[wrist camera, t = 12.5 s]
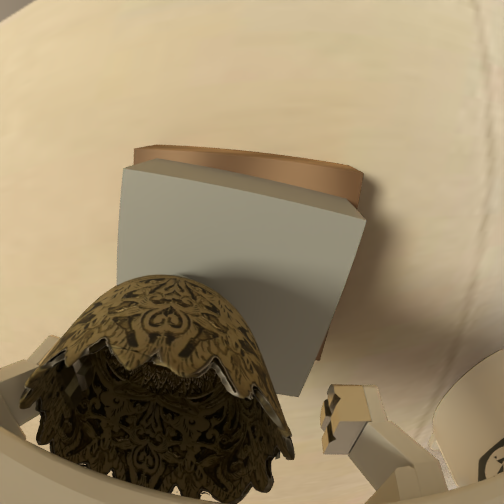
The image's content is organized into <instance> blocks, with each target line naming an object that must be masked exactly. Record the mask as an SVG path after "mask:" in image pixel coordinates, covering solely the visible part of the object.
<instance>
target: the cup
mask: <svg viewBox="0 0 504 504" xmlns="http://www.w3.org/2000/svg"><path fill="white" fill-rule="evenodd" d="M86 355H89V356H88V360H89V361H90V362H91V363H92V365H93V369H94V376H93V380H92V383H91V385H90V387H89V388H88V389H86V390H84V391H82V394H83V398H82V400H81V401H80V403H79V405H78V406H77V408H76V409H72V408H69V407H68V406H67V404H66V403H65V401H64V399H63V397H62V395H61V393H60V390H59V387H58V384H57V379H56V370H57V368H58V367H59V365H60V364H61V362H62V361H63V360H64V359H65V364H66V366H67V367H70V366H71V365H72V364H74V363H75V362H76V361H77V360H78V359H79V358H81V357H83V356H86ZM25 388H26V389H25V390H24V392H23V393H22V395H21V397H20V401H19V408H20V409H27V408H30V407H31V406H32V405H33V403H34V402H36V407H35V410H36V411H38V412H39V413H40V416H41V419H40V426H39V428H38V432H37V435H36V441H37V443H38V445H47V444H48V443H50V452H51V453H53V454H55V455H57V456H59V457H62V458H64V459H66V460H68V461H71V462H73V463H76V464H78V465H80V466H83V467H86V468H88V469H91V470H93V471H96V472H99V473H102V474H104V475H107V474H108V473H109V472H110V471H112V472H113V473H112V476H113V478H116V479H119V480H122V481H126V482H129V483H132V484H136V485H139V486H143V487H146V488H150V489H154V490H158V491H162V492H166V493H170V494H171V493H172V491H173V490H174V487H175V486H177V487H178V489H179V491H180V494H181V496H184V497H189V498H195V499H200V497H201V495H200V494H205V492H203V493H201V492H202V491H206V492H209V493H210V494H211V495H212V497H213V498H214V499H215V500H217V501H219V502H221V503H226V504H237V503H239V502H240V501H241V500H242V499H243V498H244V497H245V496H246V495H247V493H248V492H249V491H250V489H251V488H252V487H254V489H256V490H257V491H259V492H263V493H268V492H269V491H270V490H271V488H272V486H273V483H274V479H273V476H272V472H271V461H272V460H273V458H274V457H276V458H275V459H278V458H280V451H281V452H282V454H283V456H284V457H286V459H287V460H294V457H295V454H294V447H293V443H292V440H291V437H292V434H291V431H290V429H289V427H288V426H287V423H286V421H285V418H284V415H283V412H282V409H281V406H280V404H279V401H278V398H277V395H276V392H275V389H274V387H273V384H272V381H271V378H270V375H269V373H268V370H267V367H266V365H265V362H264V359H263V357H262V354H261V352H260V349H259V347H258V344H257V342H256V340H255V338H254V336H253V334H252V332H251V330H250V328H249V326H248V325H247V323H246V322H245V320H244V319H243V317H242V316H241V314H240V313H239V312H238V310H237V309H236V308H235V307H234V306H233V305H232V304H231V303H230V302H229V301H228V300H226V299H225V298H224V297H223V296H222V295H220V294H219V293H218V292H216V291H215V290H213V289H212V288H210V287H208V286H206V285H204V284H202V283H199V282H197V281H196V280H194V279H192V278H189V277H186V276H182V275H147V276H142V277H137V278H134V279H131V280H128V281H125V282H123V283H121V284H119V285H117V286H115V287H113V288H112V289H110V290H109V291H107V292H106V293H104V294H103V295H102V296H100V297H99V298H98V299H97V300H96V301H95V302H94V303H93V304H91V305H90V306H89V307H88V308H87V309H86V310H85V311H84V312H83V313H82V315H81V316H80V317H79V318H78V319H77V320H76V321H75V322H74V323H73V325H72V326H71V327H70V328H69V329H68V330H67V332H66V333H65V334H64V335H63V336H62V338H61V339H60V340H59V341H58V342H57V344H56V345H55V346H54V347H53V349H52V350H51V351H50V352H49V354H48V355H47V356H46V358H45V359H44V360H43V361H42V363H41V364H40V365H39V367H38V368H37V369H36V370H35V371H34V372H33V373H32V374H31V376H30V377H29V378H28V380H27V381H26V383H25ZM290 436H291V437H290ZM84 464H86V465H84ZM206 494H208V493H206ZM210 494H209V495H210Z"/></svg>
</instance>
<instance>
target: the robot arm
mask: <svg viewBox="0 0 504 504" xmlns="http://www.w3.org/2000/svg"><path fill="white" fill-rule="evenodd" d="M60 339H61V338H60V337H57V336H54V335H51V336H48V337H47V338H46V339H45V340H44V342H43V343H42V344H41V345H40V346H39V347H38V348H37V349H36V350H35V352H34V353H33V354H32V355H31V356H30V357H29V358H28V359H27V360H24V359H23V360H21V361H18V362H15V363H13V364H10V365H7V366H5V367H2V368H0V504H226V503H219V502H212V501H206V500H200V499H195V498H189V497H184V496H180V495H175V494H170V493H166V492H162V491H158V490H154V489H150V488H146V487H143V486H139V485H136V484H132V483H129V482H126V481H122V480H119V479H116V478H113V477H110V476H107V475H104V474H102V473H99V472H96V471H93V470H91V469H88V468H86V467H83V466H80V465H78V464H76V463H73V462H71V461H68V460H66V459H64V458H62V457H59V456H57V455H55V454H53V453H51V452H48V451H46V450H44V449H42V448H40V447H38V446H36V445H34V444H32V443H30V442H28V441H26V436H25V434H24V432H23V431H22V429H21V428H20V426H21V425H23V424H24V423H26V422H28V421H29V420H31V419H33V418H34V417H36V416H38V415H39V414H40V413H39V412H38V411H36V410H35V407H36V402H34V403H33V405H32V406H31V407H30V408H27V409H20V408H19V401H20V397H21V395H22V393H23V392H24V390H25V389H26V388H25V383H26V381H27V380H28V378H29V377H30V376H31V374H32V373H33V372H34V371H35V370H36V369H37V368H38V367H39V365H40V364H41V363H42V361H43V360H44V359H45V358H46V356H47V355H48V354H49V352H50V351H51V350H52V349H53V347H54V346H55V345H56V344H57V342H58V341H59V340H60ZM88 356H89V355H86V356H83V357H81V358H79V359H78V360H77V361H76V362H75V363H74V364H72V365H71V366H70V367H67V366H66V364H65V359H64V360H63V361H62V362H61V364H60V365H59V367H58V368H57V370H56V379H57V384H58V387H59V390H60V393H61V395H62V397H63V399H64V401H65V403H66V404H67V406H68V407H69V408H72V409H76V408H77V406H78V405H79V403H80V401H81V400H82V398H83V394H82V391H84V390H86V389H88V388H89V387H90V385H91V383H92V380H93V376H94V369H93V365H92V363H91V362H90V361H89V360H88ZM327 394H328V399H327V400H325V401H324V402H323V405H322V408H321V414H320V425H321V428H322V430H323V431H324V434H323V436H322V446H323V454H342V455H347V454H349V455H348V456H349V457H350V459H351V460H352V461H353V463H354V464H355V465H356V466H357V468H358V469H359V470H360V471H361V473H362V474H363V475H364V476H365V478H366V479H367V480H368V481H369V482H370V484H371V485H372V486H373V487H374V489H375V490H376V492H375V493H374V494H373V495H372V496H371V497H370V498H369V500H368V501H367V502H366V503H365V504H504V349H502V350H500V351H498V352H496V353H494V354H492V355H490V356H489V357H487V358H486V359H484V360H483V361H481V362H480V363H478V364H477V365H476V366H474V367H473V368H472V369H471V370H470V371H468V372H467V373H466V374H465V375H464V376H463V377H462V378H461V379H459V380H458V381H457V382H456V383H455V385H454V386H453V387H452V388H451V389H450V390H449V391H448V392H447V394H446V395H445V396H444V398H443V399H442V400H441V402H440V403H439V405H438V407H437V409H436V411H435V413H434V417H433V434H432V436H431V438H430V440H429V442H428V445H429V447H430V449H431V450H434V451H436V450H440V451H441V453H442V455H443V458H444V460H445V462H446V464H447V466H448V469H449V471H450V473H451V475H452V477H453V480H454V482H455V484H456V486H457V487H459V488H456V489H452V490H449V491H448V488H447V485H446V482H445V478H444V475H443V472H442V469H441V466H440V463H439V460H437V459H436V458H435V457H434V456H433V455H431V454H430V453H429V452H428V451H427V450H425V449H424V448H423V447H422V446H421V445H420V444H418V443H417V442H416V441H415V440H414V439H412V438H411V437H410V436H409V435H408V434H407V433H405V432H404V431H403V430H402V429H401V428H399V427H398V426H397V425H396V424H395V423H394V422H392V421H388V420H387V417H386V413H385V410H384V407H383V403H382V400H381V397H380V394H379V391H378V388H377V386H376V385H344V384H331V385H330V387H329V389H328V392H327Z"/></svg>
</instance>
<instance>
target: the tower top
mask: <svg viewBox="0 0 504 504" xmlns="http://www.w3.org/2000/svg"><path fill="white" fill-rule="evenodd" d="M366 221H367V220H366V219H365V218H364V217H363V216H362V215H361V214H360V213H359V212H358V211H357V209H356V208H355V207H354V206H353V205H352V204H351V203H350V202H349V201H348V200H347V199H345V198H342V197H338V196H334V195H330V194H326V193H322V192H318V191H314V190H310V189H306V188H302V187H298V186H294V185H290V184H286V183H281V182H277V181H273V180H268V179H264V178H259V177H254V176H250V175H245V174H240V173H235V172H230V171H225V170H220V169H215V168H210V167H205V166H199V165H194V164H188V163H183V162H177V161H171V160H165V159H159V158H156V159H153V160H149V161H146V162H143V163H139V164H136V165H133V166H129V167H126V168H123V177H122V187H121V198H120V210H119V226H118V246H117V285H119V284H121V283H123V282H125V281H128V280H131V279H134V278H137V277H142V276H147V275H182V276H186V277H189V278H192V279H194V280H196V281H197V282H199V283H202V284H204V285H206V286H208V287H210V288H212V289H213V290H215V291H216V292H218V293H219V294H220V295H222V296H223V297H224V298H225V299H226V300H228V301H229V302H230V303H231V304H232V305H233V306H234V307H235V308H236V309H237V310H238V312H239V313H240V314H241V316H242V317H243V319H244V320H245V322H246V323H247V325H248V326H249V328H250V330H251V332H252V334H253V336H254V338H255V340H256V342H257V344H258V347H259V349H260V352H261V354H262V357H263V359H264V362H265V365H266V367H267V370H268V373H269V375H270V378H271V381H272V384H273V387H274V389H275V392H276V394H282V395H288V396H295V397H299V395H300V393H301V390H302V388H303V386H304V384H305V382H306V379H307V377H308V375H309V373H310V370H311V368H312V366H313V364H314V361H315V359H316V357H317V354H318V352H319V350H320V347H321V345H322V342H323V340H324V338H325V335H326V333H327V330H328V328H329V325H330V323H331V320H332V318H333V315H334V313H335V310H336V307H337V305H338V302H339V300H340V297H341V294H342V292H343V289H344V286H345V283H346V281H347V278H348V275H349V272H350V269H351V267H352V264H353V261H354V258H355V255H356V252H357V249H358V246H359V243H360V240H361V237H362V234H363V231H364V228H365V224H366Z"/></svg>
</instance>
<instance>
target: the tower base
mask: <svg viewBox="0 0 504 504" xmlns="http://www.w3.org/2000/svg"><path fill="white" fill-rule="evenodd" d="M156 158H159V159H165V160H171V161H177V162H183V163H188V164H194V165H199V166H205V167H210V168H215V169H220V170H225V171H230V172H235V173H240V174H245V175H250V176H254V177H259V178H264V179H268V180H273V181H277V182H281V183H286V184H290V185H294V186H298V187H302V188H306V189H310V190H314V191H318V192H322V193H326V194H330V195H334V196H338V197H342V198H345V199H347V200H348V201H349V202H350V203H351V204H352V205H353V206H354V207H355V208H356V209H357V207H358V202H359V196H360V191H361V185H362V180H363V174H364V173H362V172H360V171H358V170H357V169H355V168H353V167H351V166H349V165H343V164H338V163H332V162H326V161H319V160H313V159H306V158H299V157H292V156H285V155H277V154H269V153H260V152H251V151H241V150H231V149H220V148H207V147H193V146H176V145H152V146H146V147H141V148H135V149H134V165H136V164H139V163H143V162H146V161H149V160H153V159H156ZM329 326H330V325H329ZM328 330H329V328H328ZM328 330H327V333H326V335H325V338H324V340H323V342H322V345H321V347H320V350H319V352H318V354H317V357H316V359H315V360H318V361H320V357H321V354H322V351H323V347H324V344H325V341H326V337H327V334H328Z"/></svg>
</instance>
